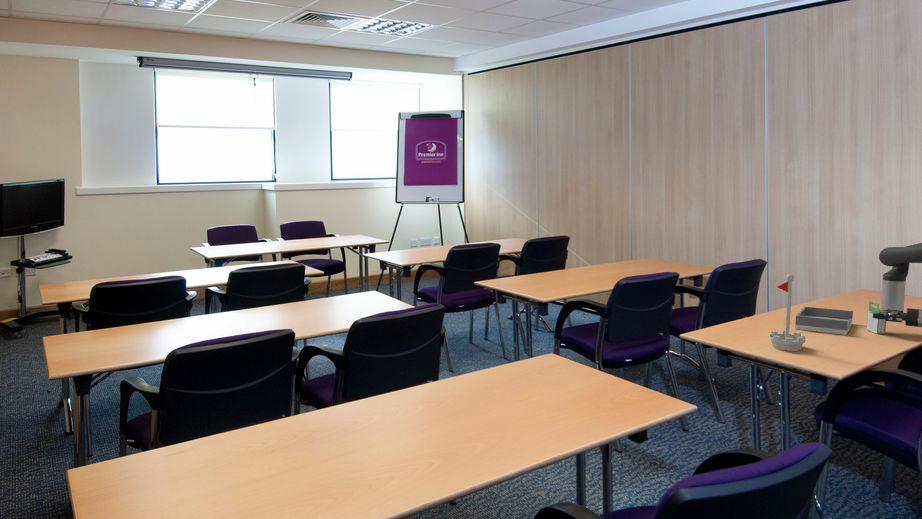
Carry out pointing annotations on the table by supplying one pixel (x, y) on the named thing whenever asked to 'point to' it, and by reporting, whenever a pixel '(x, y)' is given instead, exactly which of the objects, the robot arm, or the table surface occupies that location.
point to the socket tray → (824, 320)
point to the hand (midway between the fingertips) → (873, 313)
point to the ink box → (876, 324)
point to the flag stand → (787, 325)
